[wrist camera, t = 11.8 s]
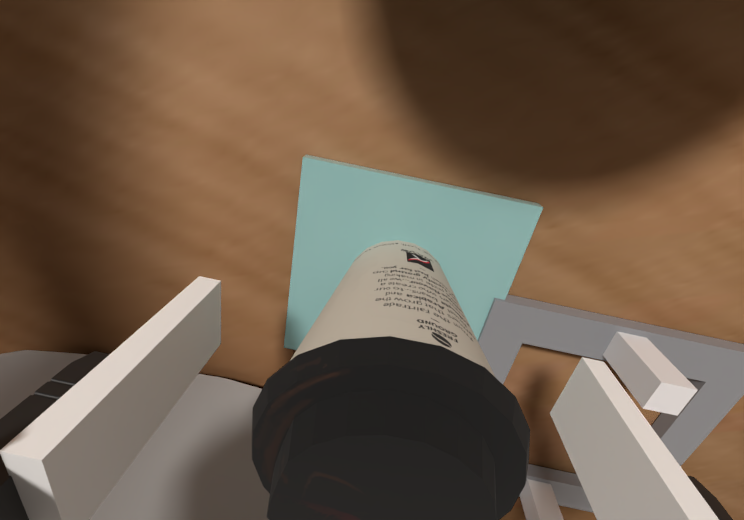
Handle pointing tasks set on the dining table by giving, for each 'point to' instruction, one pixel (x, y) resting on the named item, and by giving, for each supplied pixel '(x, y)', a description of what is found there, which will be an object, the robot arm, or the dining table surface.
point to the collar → (634, 367)
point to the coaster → (401, 235)
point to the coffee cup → (390, 406)
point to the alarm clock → (170, 448)
